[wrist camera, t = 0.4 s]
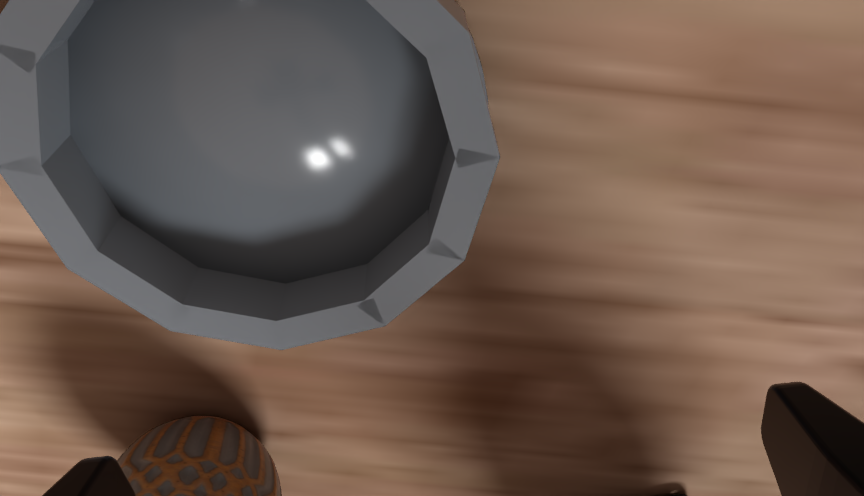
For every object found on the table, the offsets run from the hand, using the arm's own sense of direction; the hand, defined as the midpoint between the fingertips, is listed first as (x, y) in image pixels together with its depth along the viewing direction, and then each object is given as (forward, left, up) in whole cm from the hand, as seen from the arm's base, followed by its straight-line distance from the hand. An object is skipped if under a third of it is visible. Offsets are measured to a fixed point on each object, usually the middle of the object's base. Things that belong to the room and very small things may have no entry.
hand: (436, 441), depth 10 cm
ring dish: (0, +5, -14) cm, 14 cm away
